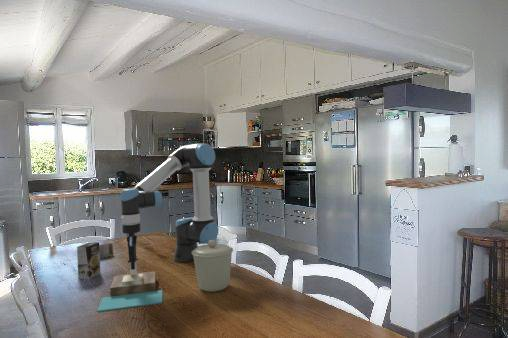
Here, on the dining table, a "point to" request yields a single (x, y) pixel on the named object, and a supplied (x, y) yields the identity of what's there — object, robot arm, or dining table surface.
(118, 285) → the walnut board
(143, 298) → the teal mat
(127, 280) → the birch tile
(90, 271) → the coffee box
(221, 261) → the canister
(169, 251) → the dining table surface
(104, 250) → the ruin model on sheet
